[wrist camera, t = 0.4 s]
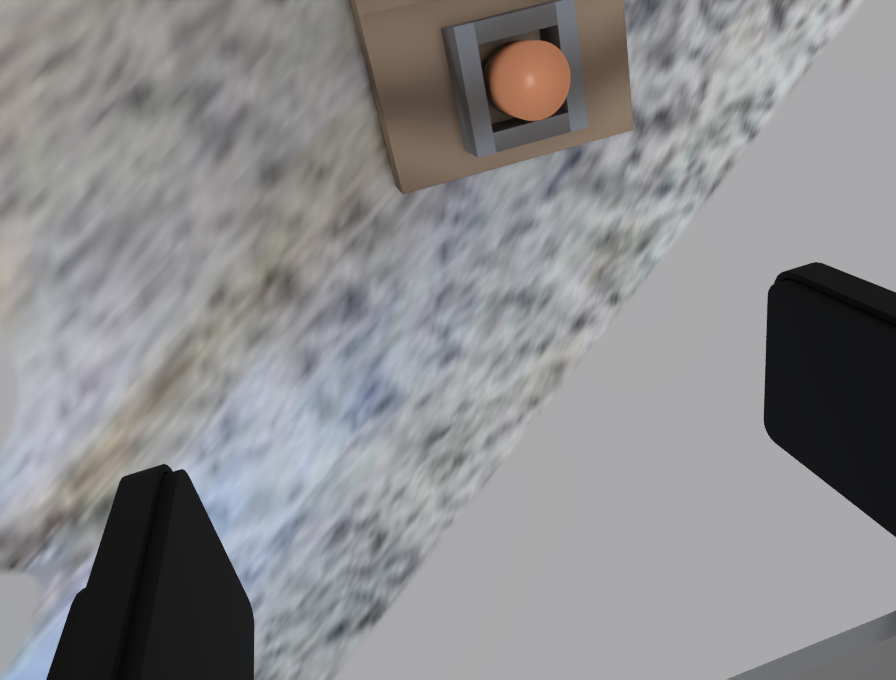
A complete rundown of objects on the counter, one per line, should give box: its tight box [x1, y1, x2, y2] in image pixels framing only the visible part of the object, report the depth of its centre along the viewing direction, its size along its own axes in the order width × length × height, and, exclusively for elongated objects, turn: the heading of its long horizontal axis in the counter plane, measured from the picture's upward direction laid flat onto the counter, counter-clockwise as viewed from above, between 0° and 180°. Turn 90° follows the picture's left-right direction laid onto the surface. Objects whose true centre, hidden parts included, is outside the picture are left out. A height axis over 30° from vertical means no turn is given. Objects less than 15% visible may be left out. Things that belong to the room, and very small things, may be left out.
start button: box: [483, 40, 571, 121], centre depth 33 cm, size 4×4×3 cm
